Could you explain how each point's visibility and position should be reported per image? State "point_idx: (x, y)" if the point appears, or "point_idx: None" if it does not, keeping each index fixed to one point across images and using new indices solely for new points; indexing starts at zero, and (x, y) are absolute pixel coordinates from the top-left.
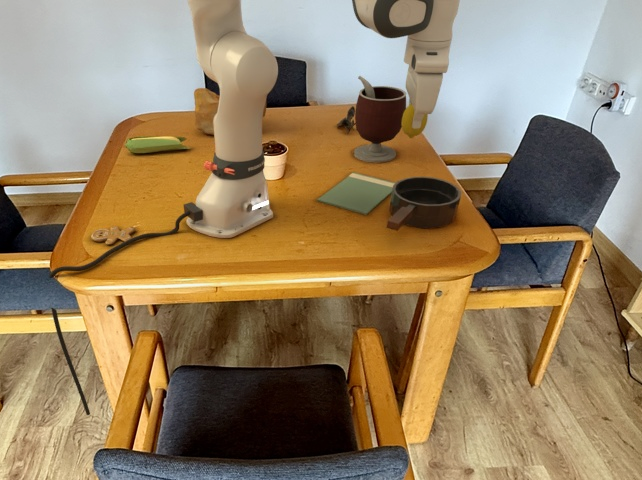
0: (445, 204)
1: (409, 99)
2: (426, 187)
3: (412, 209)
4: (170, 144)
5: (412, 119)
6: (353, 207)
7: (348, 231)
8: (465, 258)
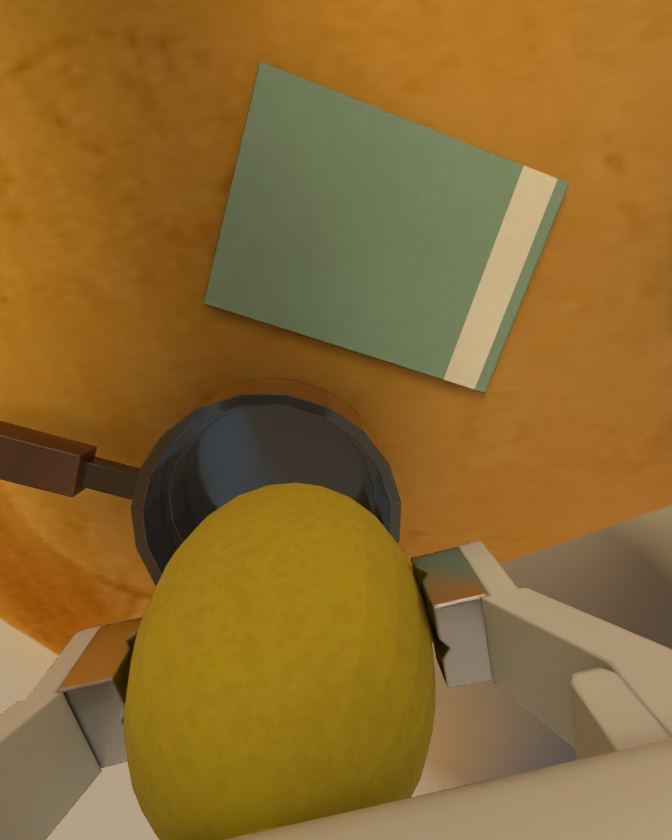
0: None
1: (623, 656)
2: (382, 503)
3: (67, 495)
4: None
5: (116, 664)
6: (234, 242)
7: (56, 257)
8: (46, 618)
